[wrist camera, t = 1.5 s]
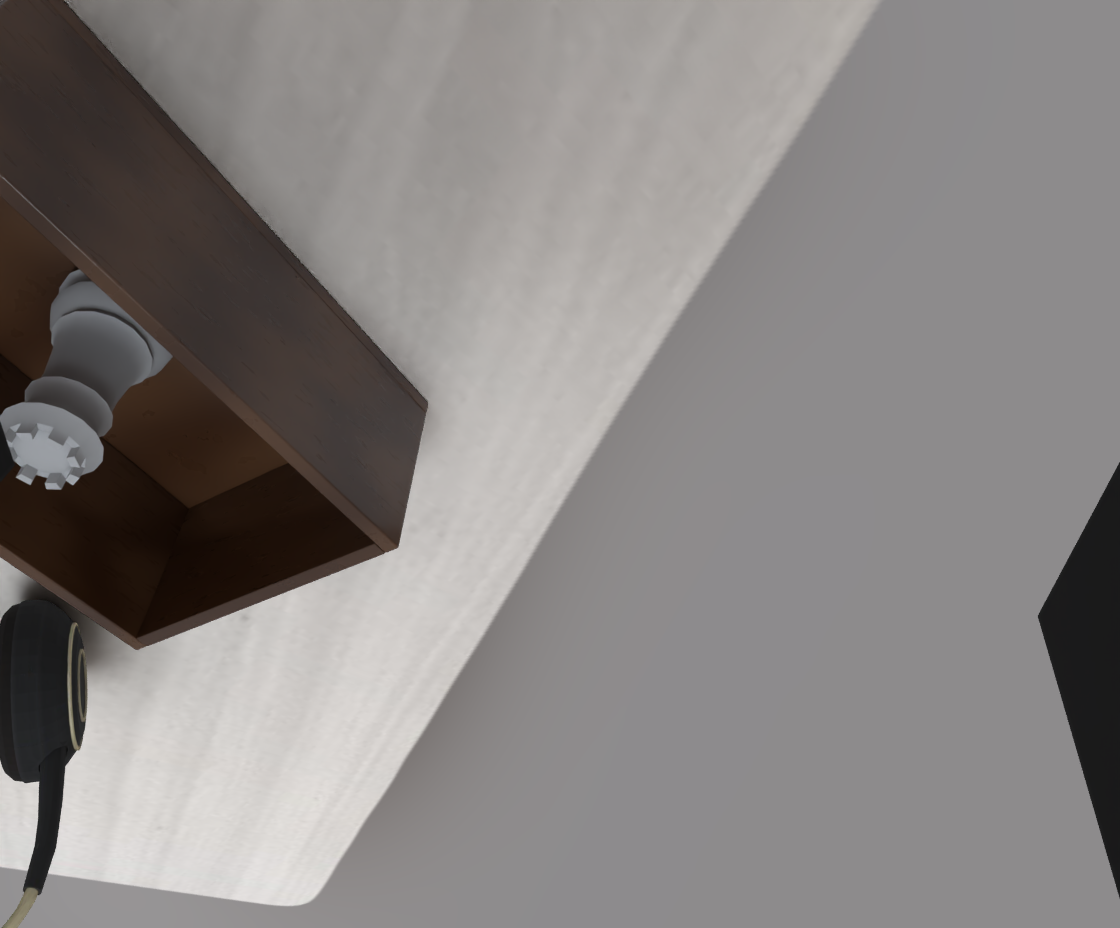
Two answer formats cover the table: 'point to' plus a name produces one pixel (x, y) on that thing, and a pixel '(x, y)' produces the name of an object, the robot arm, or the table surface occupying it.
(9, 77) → the chest
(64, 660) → the headphones
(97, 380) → the rook chess piece
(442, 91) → the table surface
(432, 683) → the table surface
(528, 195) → the table surface
